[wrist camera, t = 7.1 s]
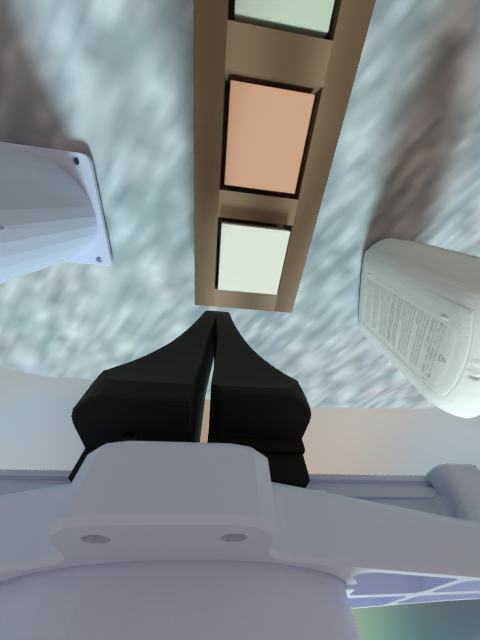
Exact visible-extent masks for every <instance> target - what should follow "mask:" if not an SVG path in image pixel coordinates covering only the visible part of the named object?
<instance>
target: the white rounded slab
mask: <svg viewBox="0 0 480 640" xmlns="http://www.w3.org/2000/svg"><path fill="white" fill-rule="evenodd" d="M359 327H360V330H361V331H362V333H363V334H364V335H365V336H366V337H367V338H368V339H369V340H370V341H371V342H372V343H373V344H374V345H375V346H376V347H377V348H378V349H379V350H380V351H381V352H382V353H383V354H384V355H385V356H386V358H387V359H388V360H389V361H390V362H391V363H392V364H393V365H394V366H395V367H396V368H397V369H398V370H399V371H400V372H401V373H402V374H403V375H404V376H405V377H406V378H407V379H408V380H409V381H410V382H411V383H412V384H413V385H414V386H415V387H416V388H417V389H418V390H419V392H420V393H421V394H422V395H423V396H424V397H425V398H426V399H427V400H429V401H430V402H431V403H432V404H434V405H435V406H437V407H439V408H440V409H442V410H444V411H446V412H448V413H451V414H453V415H456V416H459V417H462V418H472V417H475V416H478V415H480V257H477V256H473V255H469V254H465V253H461V252H457V251H453V250H448V249H444V248H440V247H436V246H432V245H427V244H423V243H419V242H414V241H409V240H400V239H395V238H386V239H383V240H380V241H378V242H376V243H375V244H373V245H372V246H371V247H370V248H369V250H366V252H365V255H364V259H363V264H362V274H361V286H360V301H359Z"/></svg>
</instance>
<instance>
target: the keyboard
mask: <svg viewBox="0 0 480 640" xmlns="http://www.w3.org/2000/svg"><path fill="white" fill-rule="evenodd" d="M375 1H376V0H335V1H334V6H333V11H332V15H331V20H330V25H329V30H328V33H327V34H326V36H325V38H324V39H322V38H316V37H311V36H306V35H301V34H296V33H291V32H286V31H281V30H276V29H271V28H266V27H261V26H256V25H251V24H246V23H241V22H236V21H235V0H194V185H195V305H205V306H217V307H230V308H242V309H254V310H266V311H278V312H290V313H292V310H293V306H294V302H295V298H296V295H297V291H298V287H299V284H300V280H301V276H302V272H303V269H304V265H305V261H306V258H307V254H308V250H309V246H310V243H311V239H312V235H313V232H314V228H315V224H316V220H317V217H318V213H319V209H320V206H321V202H322V198H323V194H324V191H325V187H326V183H327V180H328V176H329V172H330V168H331V165H332V161H333V157H334V153H335V150H336V146H337V142H338V139H339V135H340V131H341V127H342V124H343V120H344V116H345V113H346V109H347V105H348V101H349V98H350V94H351V90H352V87H353V83H354V79H355V75H356V72H357V68H358V64H359V61H360V57H361V53H362V49H363V46H364V42H365V38H366V35H367V31H368V27H369V23H370V20H371V16H372V12H373V8H374V5H375ZM231 80H233V81H239V82H244V83H250V84H256V85H262V86H267V87H273V88H279V89H284V90H290V91H296V92H302V93H307V94H313V95H315V97H314V102H313V107H312V112H311V117H310V121H309V126H308V131H307V136H306V141H305V146H304V150H303V155H302V160H301V165H300V170H299V174H298V179H297V184H296V189H295V194H288V195H286V194H279V193H271V192H264V191H256V190H248V189H241V188H233V187H226V186H225V169H226V152H227V135H228V118H229V101H230V84H231ZM223 221H228V222H237V223H245V224H254V225H262V226H271V227H279V228H285V229H286V230H288V231H290V236H289V240H288V245H287V249H286V254H285V259H284V263H283V268H282V273H281V277H280V282H279V286H278V291H277V295H274V294H263V293H252V292H240V291H229V290H218V280H219V263H220V245H221V228H222V222H223Z"/></svg>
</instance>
